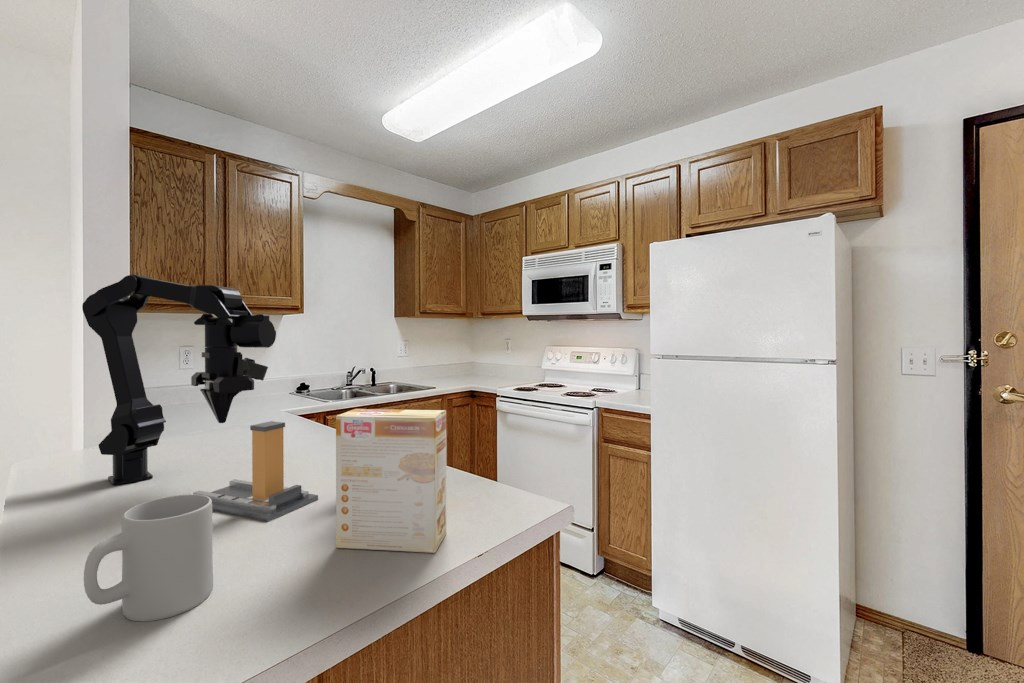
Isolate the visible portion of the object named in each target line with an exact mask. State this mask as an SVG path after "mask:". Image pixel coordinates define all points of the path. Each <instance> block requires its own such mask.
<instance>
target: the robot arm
mask: <svg viewBox="0 0 1024 683" xmlns="http://www.w3.org/2000/svg"><path fill="white" fill-rule="evenodd" d="M150 297H153V298H157V299H158V298H159V299H163V300H168V301H173V302H178V303H183V304H186V305H188V306H191V307H192V308H193V309H195V310H197V311H200V312H203V314H202V315H201V316H200V317H199V318H197V319H196V320H195V321H194V322H193V323H194V325H196V326H204V351H203V352H201V358H204V371H198V372H197V371H196V372H195V373H194V374H193V375H191V378H190V379H191V381H190V382H191V386H193V387H198V386H200V385H204V388H200V389H199V390H200V392H201V393H202V395H203V397H204V399H205V400H206V402H207V404H208V406H209V408H210V409H211V411H212V413H213V415H214V417H215V419H216V421H217V423H218V424H224V423H226V421H227V418H228V415H229V413H230V408H231V406H232V402H233V400H234V398H235V397H236V396H237V395H239V393H242V392H245V391H254V390H255V380H256V381H257V380H260V381H262V382H263V381H264V379H265V377H266V374H267V371H268V369H269V367H268V366H267V365H263V364H260V363H257V362H256V361H255V360H256V359H252V358H250V357H244V358H243V353H242V352H241V351H238V347H239V348H254V349H255V348H258V349H259V348H262V349H263V348H265V349H266V348H271V347H273V345H274V343H275V342H276V338H277V331H276V329H275V326H274V324H273V322H272V321H271V320H270V315H269V314H264V313H262V314H260V313H259V314H254V315H253V313H252V312H251V311H250V309H249V308H248V306H247V304H246V303H245V301H244V300H243V297H242V295H241V293H240V291H239V289H237V288H232V287H229V286H228V287H225V286H219V285H213V284H204V285H203V284H201V285H200V284H199V285H198V284H195V285H190V284H189V285H188V284H183V283H177V282H173V281H167V280H162V279H157V278H152V277H151V276H146V275H139V274H129V275H126V276H124V277H123V278H121V279H120V280H119V281H118V282H117V281H116V282H114V283H111V284H109V285H107V286H104V287H102V288H100V289H98V290H97V291H96V292H94V293H93V294H89V296H88V297H87V298H86V299H85V301H84V302H83V303H82V313H83V315H84V318H85V320H86V323H87V325H88V326H89V328H91V329H92V330H93V332H95V333H96V334H97V335H98V337H100V338H101V342H102V345H103V346H102V347H103V350H104V351H103V352H104V355H105V359H106V363H107V368H108V372H109V377H110V381H111V384H112V389H113V393H114V398H115V401H116V406H115V408H114V410H113V414H112V416H111V418H110V427H111V431H110V432H109V433H108V434H107V435H106V436H105V437H104V438H103V440H101V442H99V444H98V449H99V451H100V454H101V455H103V456H112V475H109V476H107V479H108V481H109V482H110V483H111V484H112V485H113V486H117V485H121V484H122V485H123V484H127V483H132V482H133V483H134V482H138V481H144V480H150V479H153V477H154V476H153V474H152V473H150V471H148V470H149V469H148V468H149V467H148V464H149V462H148V461H149V460H148V456H149V455H148V448H151V447H156V446H158V443H159V440H160V439H161V438H160V437H161V435H162V433H163V432H164V431H165V423H166V422H167V421H166V419H165V417H164V414H163V407H162V405H161V404H159V403H158V404H153V403H152V402H151V401H150V400H149V399H148V398H147V394H146V389H145V385H144V381H143V376H142V373H141V372H142V371H141V369H140V365H139V364H140V363H139V360H138V355H137V352H136V347H135V343H134V339H133V332H134V330H135V328H136V325H137V324H138V314H137V313H138V312H140V311H141V310H142V309H143V308H145V307H146V306H147V303H148V301H149V298H150Z"/></svg>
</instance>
